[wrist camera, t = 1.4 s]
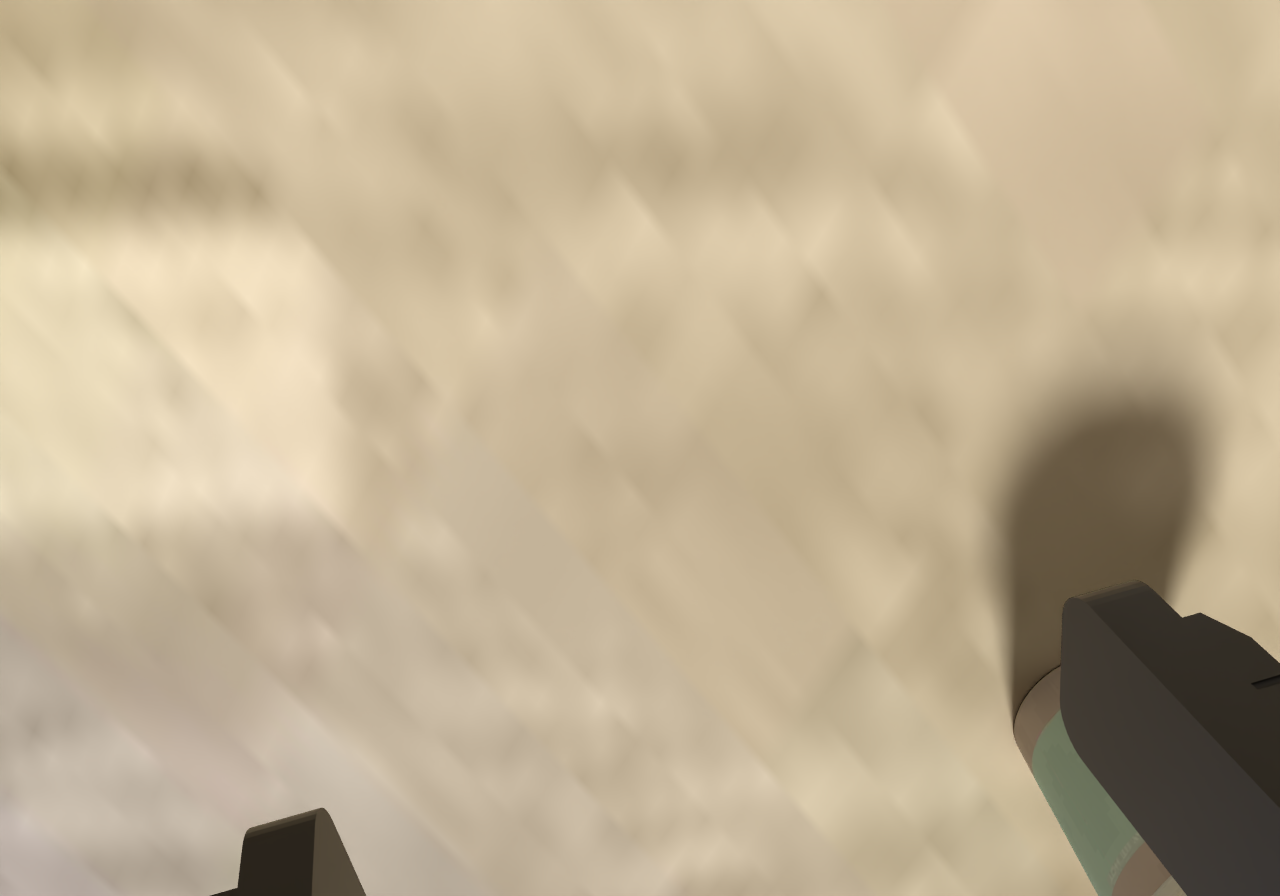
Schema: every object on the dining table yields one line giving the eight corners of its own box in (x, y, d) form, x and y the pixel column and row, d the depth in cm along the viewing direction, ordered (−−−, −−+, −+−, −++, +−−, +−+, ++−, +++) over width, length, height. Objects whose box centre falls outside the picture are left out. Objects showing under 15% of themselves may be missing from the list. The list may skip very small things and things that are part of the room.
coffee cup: (1195, 718, 48) (1426, 961, 37) (1019, 818, 48) (1198, 1084, 38) (1144, 587, 43) (1389, 819, 33) (951, 698, 44) (1132, 961, 34)
